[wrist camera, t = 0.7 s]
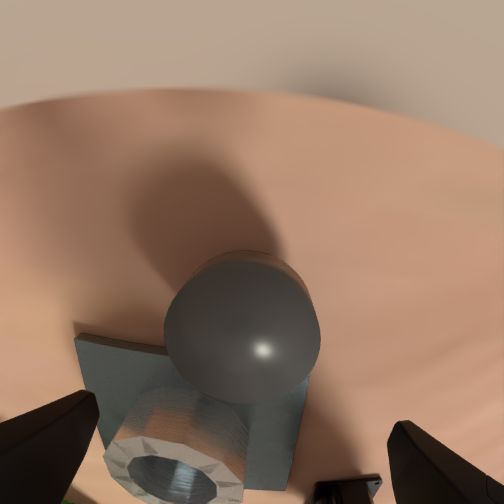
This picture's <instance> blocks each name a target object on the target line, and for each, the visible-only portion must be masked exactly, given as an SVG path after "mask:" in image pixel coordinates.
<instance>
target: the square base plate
mask: <svg viewBox="0 0 504 504" xmlns="http://www.w3.org/2000/svg"><path fill="white" fill-rule="evenodd" d="M74 341H75V346H76V350H77V355H78V359H79V364H80V368H81V372H82V376H83V380H84V384H85V387H86V390H87V391H90V392H93V393H94V394H95V396H96V400H97V404H98V407H99V411H100V417H99V420H98V423H97V427H98V430H99V433H100V436H101V439H102V442H103V444H104V447H105V450H106V451H105V453H104V455H103V458H104V460H105V463H106V465H107V467H108V470H109V472H110V474H111V477H112V478H113V479H114V480H116V481H117V482H118V483H119V484H120V485H121V486H122V487H123V488H125V489H126V490H127V491H128V492H129V493H130V494H132V495H133V496H134V497H136V498H138V499H140V500H142V501H145V502H147V503H149V504H240V503H241V502H242V501H243V492H244V489H252V490H273V491H285V489H286V485H287V481H288V477H289V473H290V468H291V464H292V460H293V455H294V451H295V446H296V442H297V437H298V432H299V428H300V423H301V418H302V413H303V408H304V402H305V397H306V392H307V386H308V381H309V375H310V373H309V374H308V376H307V377H306V378H305V379H304V380H303V381H302V382H301V383H300V384H299V385H298V386H297V387H295V388H294V389H293V390H291V391H290V392H288V393H286V394H285V395H283V396H280V397H278V398H276V399H273V400H269V401H266V402H260V403H251V404H242V403H232V402H227V401H223V400H219V399H216V398H213V397H211V396H209V395H207V394H205V393H203V392H201V391H199V390H198V389H196V388H195V387H193V386H192V385H191V384H190V383H188V382H187V381H186V380H185V379H184V378H183V377H182V376H181V374H180V373H179V372H178V371H177V369H176V368H175V366H174V365H173V363H172V361H171V359H170V357H169V355H168V352H167V349H166V348H165V347H158V346H152V345H145V344H139V343H133V342H127V341H121V340H115V339H110V338H104V337H99V336H94V335H89V334H84V333H80V334H79V335H78V336H77V337H76V338H74Z"/></svg>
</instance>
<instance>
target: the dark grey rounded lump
mask: <svg viewBox="0 0 504 504" xmlns="http://www.w3.org/2000/svg"><path fill="white" fill-rule="evenodd" d="M164 339H165V345H166V349H167V352H168V355H169V357H170V359H171V361H172V363H173V365H174V366H175V368H176V369H177V371H178V372H179V373H180V374H181V376H182V377H183V378H184V379H185V380H186V381H187V382H188V383H190V384H191V385H192V386H193V387H195V388H196V389H198V390H199V391H201V392H203V393H205V394H207V395H209V396H211V397H213V398H216V399H219V400H223V401H227V402H232V403H242V404H251V403H260V402H266V401H269V400H273V399H276V398H278V397H280V396H283V395H285V394H286V393H288V392H290V391H291V390H293V389H294V388H295V387H297V386H298V385H299V384H300V383H301V382H302V381H303V380H304V379H305V378H306V377H307V376H308V374H309V373H310V372H311V370H312V368H313V367H314V365H315V362H316V360H317V357H318V354H319V350H320V341H321V337H320V328H319V323H318V319H317V316H316V313H315V310H314V306H313V303H312V300H311V297H310V294H309V292H308V289H307V287H306V285H305V283H304V282H303V280H302V279H301V277H300V276H299V275H298V274H297V273H296V272H295V271H294V270H293V269H292V268H291V267H290V266H289V265H287V264H286V263H285V262H283V261H281V260H280V259H278V258H276V257H274V256H271V255H269V254H266V253H262V252H257V251H249V250H240V251H232V252H228V253H224V254H221V255H219V256H216V257H214V258H212V259H210V260H209V261H207V262H206V263H204V264H203V265H202V266H200V267H199V268H198V269H197V270H196V272H195V273H194V274H193V275H192V276H191V277H190V279H189V280H188V281H187V282H186V284H185V285H184V286H183V288H182V289H181V290H180V291H179V293H178V294H177V295H176V297H175V298H174V300H173V301H172V303H171V305H170V307H169V309H168V311H167V315H166V318H165V324H164Z"/></svg>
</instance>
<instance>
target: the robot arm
mask: <svg viewBox="0 0 504 504" xmlns="http://www.w3.org/2000/svg"><path fill="white" fill-rule="evenodd" d="M99 417H100V411H99V407H98V404H97V400H96V396H95V394H94V393H93V392H90V391H87V390H79V391H77V392H75V393H72V394H70V395H68V396H65V397H63V398H61V399H58V400H56V401H54V402H51V403H49V404H46V405H44V406H42V407H39V408H37V409H34V410H32V411H29V412H27V413H24V414H22V415H19V416H17V417H14V418H12V419H9V420H7V421H4V422H1V423H0V504H61V503H62V501H63V499H64V497H65V495H66V493H67V491H68V489H69V487H70V485H71V483H72V481H73V479H74V477H75V475H76V473H77V471H78V469H79V467H80V465H81V463H82V461H83V459H84V457H85V455H86V452H87V450H88V447H89V444H90V441H91V439H92V436H93V433H94V431H95V428H96V426H97V423H98V420H99ZM387 449H388V456H389V464H390V472H391V480H392V487H393V491H394V496H395V500H396V504H504V485H502V484H501V483H499V482H497V481H496V480H494V479H493V478H491V477H490V476H488V475H486V474H485V473H484V472H482V471H481V470H479V469H478V468H476V467H475V466H473V465H472V464H471V463H469V462H468V461H466V460H465V459H463V458H462V457H460V456H459V455H458V454H456V453H455V452H453V451H452V450H450V449H449V448H448V447H446V446H445V445H443V444H442V443H441V442H439V441H438V440H436V439H435V438H434V437H432V436H431V435H429V434H428V433H427V432H425V431H424V430H422V429H421V428H420V427H418V426H417V425H416V424H414V423H413V422H411V421H410V420H404V421H398V422H396V423H395V425H394V427H393V430H392V432H391V434H390V436H389V438H388V441H387ZM382 482H383V481H382V478H380V477H378V478H370V479H361V480H351V481H338V482H320V483H317V484H316V485H315V486H314V489H313V492H312V495H311V497H310V500H309V502H308V504H374V502H373V497H374V496H375V494H376V492H377V491H378V489H379V487H380V486H381V484H382Z"/></svg>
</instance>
